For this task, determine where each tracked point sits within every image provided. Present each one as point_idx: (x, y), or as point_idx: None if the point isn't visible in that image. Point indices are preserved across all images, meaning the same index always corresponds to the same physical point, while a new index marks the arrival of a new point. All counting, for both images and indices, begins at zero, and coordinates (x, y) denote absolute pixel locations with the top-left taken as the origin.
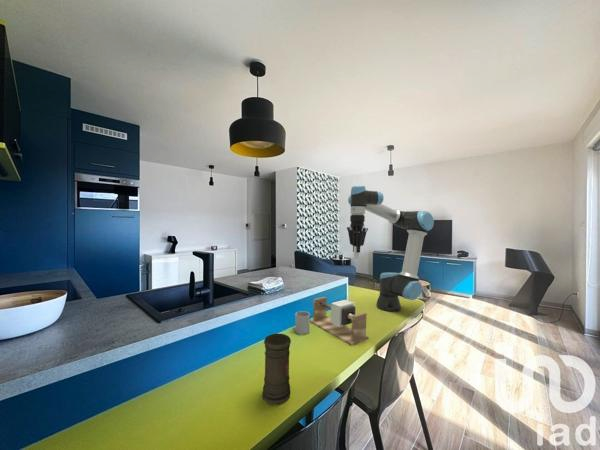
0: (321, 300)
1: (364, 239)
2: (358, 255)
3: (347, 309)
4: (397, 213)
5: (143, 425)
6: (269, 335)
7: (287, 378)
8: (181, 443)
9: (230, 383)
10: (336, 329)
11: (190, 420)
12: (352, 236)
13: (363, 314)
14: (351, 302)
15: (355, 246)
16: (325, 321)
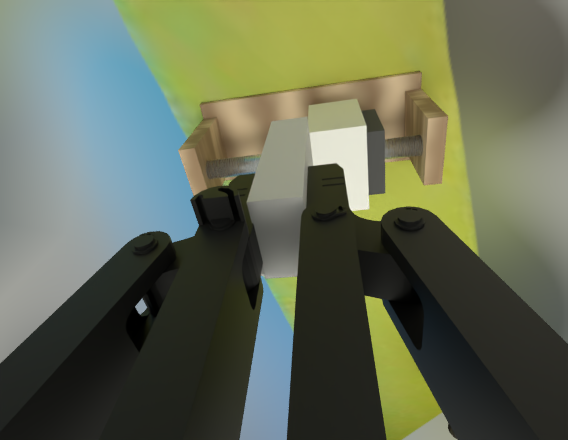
0: (205, 174)
1: (533, 325)
2: (308, 143)
3: (384, 178)
4: None
5: (393, 428)
6: (452, 433)
7: None
8: (440, 412)
9: (379, 372)
10: None
11: (415, 406)
12: (56, 424)
13: (444, 134)
14: (355, 133)
15: (295, 271)
16: (246, 138)
